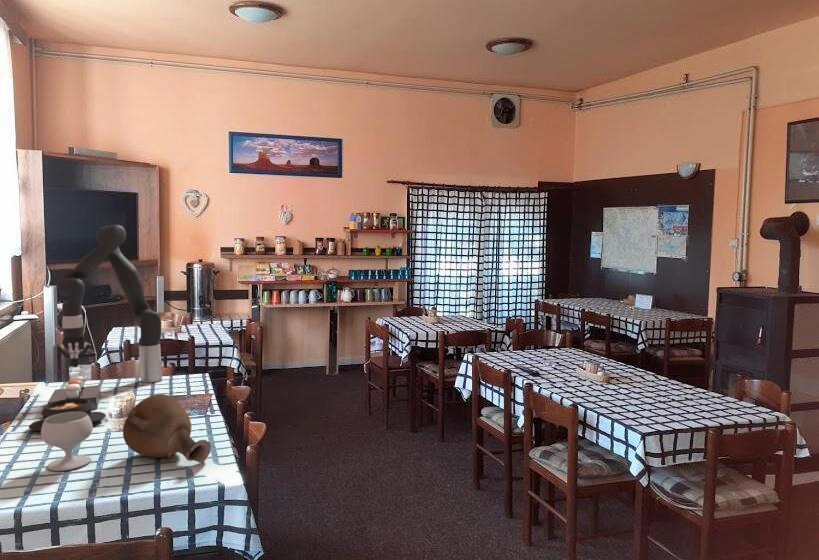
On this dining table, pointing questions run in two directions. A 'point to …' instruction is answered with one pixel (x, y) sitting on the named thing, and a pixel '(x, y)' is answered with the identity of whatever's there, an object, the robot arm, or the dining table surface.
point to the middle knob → (76, 383)
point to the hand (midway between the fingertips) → (75, 367)
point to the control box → (80, 395)
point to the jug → (162, 430)
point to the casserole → (67, 410)
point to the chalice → (67, 438)
